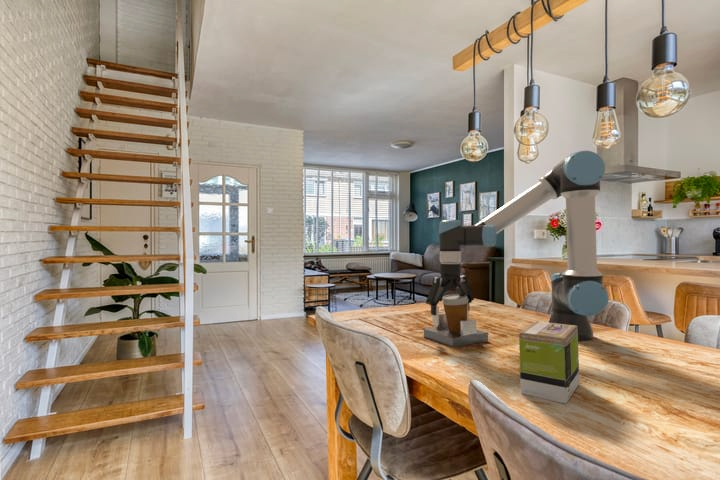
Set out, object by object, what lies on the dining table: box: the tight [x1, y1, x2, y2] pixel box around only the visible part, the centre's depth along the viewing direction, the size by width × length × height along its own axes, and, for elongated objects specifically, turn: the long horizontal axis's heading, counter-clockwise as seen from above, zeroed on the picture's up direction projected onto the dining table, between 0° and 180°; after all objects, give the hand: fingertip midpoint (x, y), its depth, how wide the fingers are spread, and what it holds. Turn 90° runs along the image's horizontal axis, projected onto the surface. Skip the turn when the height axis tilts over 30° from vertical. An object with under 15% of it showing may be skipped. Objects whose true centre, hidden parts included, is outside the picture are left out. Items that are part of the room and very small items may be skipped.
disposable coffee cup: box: [441, 293, 469, 332], centre depth 140 cm, size 10×10×12 cm
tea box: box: [518, 320, 580, 404], centre depth 93 cm, size 15×10×15 cm, turn 141°
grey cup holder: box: [423, 312, 489, 348], centre depth 140 cm, size 16×16×8 cm
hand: (450, 322), depth 139 cm, fingers open, 13 cm apart
